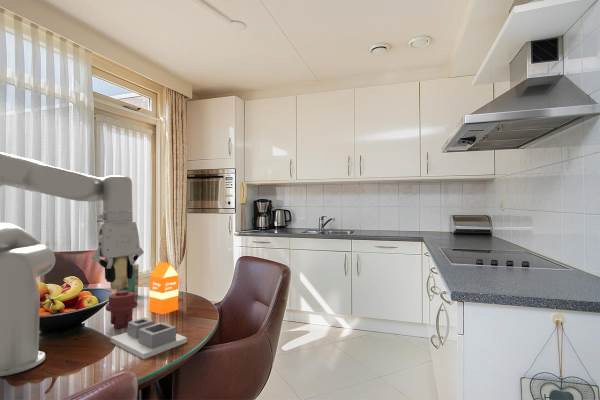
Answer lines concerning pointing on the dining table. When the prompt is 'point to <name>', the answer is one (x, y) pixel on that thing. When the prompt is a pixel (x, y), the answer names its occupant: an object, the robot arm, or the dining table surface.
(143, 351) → the plate
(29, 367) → the robot arm
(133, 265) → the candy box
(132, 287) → the beverage bottle
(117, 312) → the mechanical component
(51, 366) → the dining table surface
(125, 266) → the brass pipe fitting
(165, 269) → the orange juice
